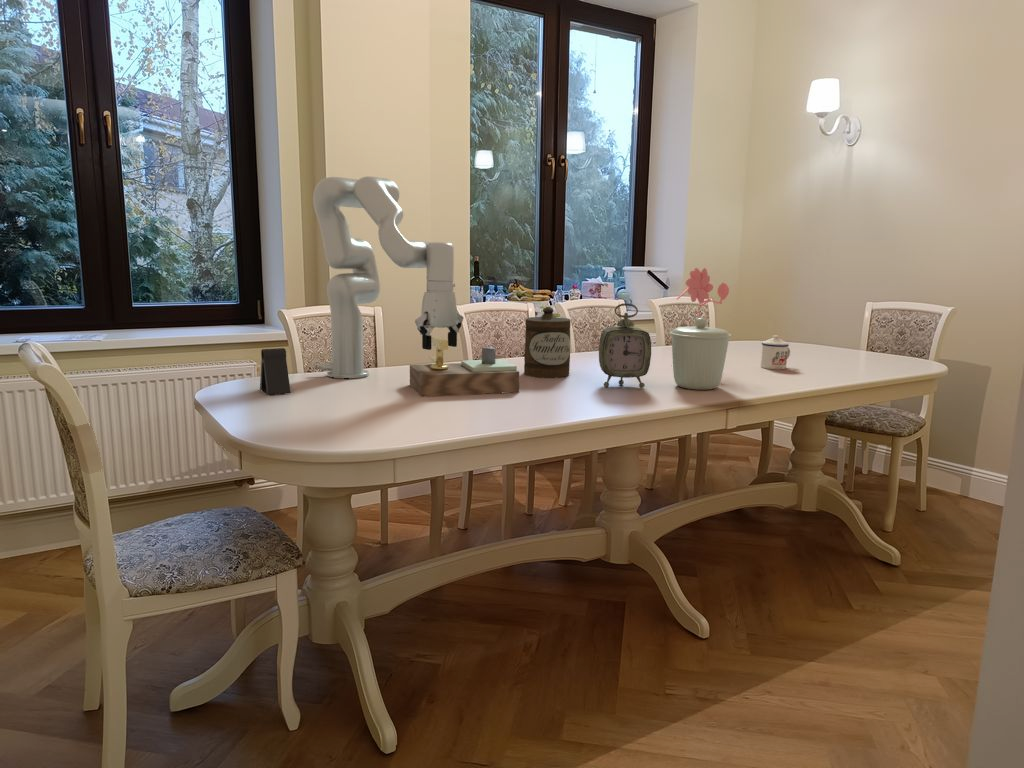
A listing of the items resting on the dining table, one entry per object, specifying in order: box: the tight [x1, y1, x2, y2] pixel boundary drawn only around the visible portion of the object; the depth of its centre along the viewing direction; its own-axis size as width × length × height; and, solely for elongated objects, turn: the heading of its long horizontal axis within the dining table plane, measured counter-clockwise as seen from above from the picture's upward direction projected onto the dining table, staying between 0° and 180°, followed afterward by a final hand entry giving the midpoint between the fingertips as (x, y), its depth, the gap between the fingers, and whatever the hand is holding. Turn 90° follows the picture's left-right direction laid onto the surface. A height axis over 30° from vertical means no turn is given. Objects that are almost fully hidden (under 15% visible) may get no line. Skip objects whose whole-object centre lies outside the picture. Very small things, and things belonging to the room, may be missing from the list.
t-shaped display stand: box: [428, 336, 449, 370], centre depth 214 cm, size 15×5×8 cm, turn 18°
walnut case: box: [409, 362, 520, 398], centre depth 215 cm, size 28×18×6 cm, turn 108°
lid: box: [460, 346, 518, 372], centre depth 216 cm, size 13×13×6 cm
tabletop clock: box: [598, 303, 652, 389], centre depth 223 cm, size 14×9×25 cm, turn 92°
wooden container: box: [523, 306, 572, 379], centre depth 242 cm, size 15×15×22 cm
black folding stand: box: [259, 347, 291, 396], centre depth 204 cm, size 9×6×12 cm, turn 32°
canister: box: [669, 317, 732, 391], centre depth 224 cm, size 18×18×21 cm
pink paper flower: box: [676, 267, 730, 327], centre depth 262 cm, size 15×26×35 cm, turn 28°
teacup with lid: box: [760, 334, 791, 371], centre depth 266 cm, size 12×9×12 cm
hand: (439, 347), depth 211 cm, fingers open, 9 cm apart
